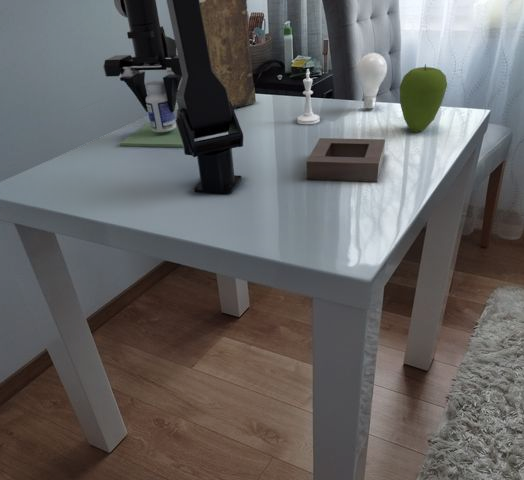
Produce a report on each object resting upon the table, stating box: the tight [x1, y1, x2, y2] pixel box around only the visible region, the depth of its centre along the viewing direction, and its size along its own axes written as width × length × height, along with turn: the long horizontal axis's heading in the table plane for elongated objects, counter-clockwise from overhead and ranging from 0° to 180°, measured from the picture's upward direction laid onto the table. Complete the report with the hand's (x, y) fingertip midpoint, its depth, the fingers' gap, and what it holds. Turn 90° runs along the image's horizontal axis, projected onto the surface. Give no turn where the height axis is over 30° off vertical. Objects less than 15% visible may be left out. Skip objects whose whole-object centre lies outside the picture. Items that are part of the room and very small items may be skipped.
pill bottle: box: [145, 80, 176, 132], centre depth 104 cm, size 5×5×9 cm
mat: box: [119, 121, 183, 148], centre depth 108 cm, size 14×14×1 cm
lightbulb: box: [356, 52, 388, 111], centre depth 109 cm, size 6×6×11 cm
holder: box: [306, 137, 386, 183], centre depth 86 cm, size 12×12×3 cm
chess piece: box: [296, 68, 320, 125], centre depth 106 cm, size 5×5×10 cm
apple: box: [399, 63, 448, 133], centre depth 96 cm, size 9×8×12 cm
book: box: [199, 0, 257, 109], centre depth 113 cm, size 17×7×25 cm, turn 126°
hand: (160, 111), depth 105 cm, fingers closed on pill bottle, 5 cm apart
